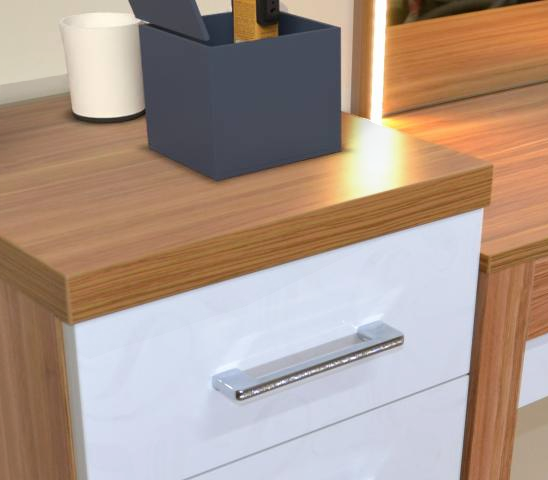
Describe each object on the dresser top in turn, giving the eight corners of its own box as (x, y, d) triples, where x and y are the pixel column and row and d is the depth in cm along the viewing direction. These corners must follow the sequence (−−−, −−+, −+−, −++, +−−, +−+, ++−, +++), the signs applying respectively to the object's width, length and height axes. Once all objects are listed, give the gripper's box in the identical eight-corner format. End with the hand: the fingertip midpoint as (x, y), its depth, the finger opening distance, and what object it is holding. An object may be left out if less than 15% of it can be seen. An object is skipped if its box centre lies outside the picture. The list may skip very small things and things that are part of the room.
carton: (216, 181, 109) (209, 48, 103) (148, 147, 118) (138, 24, 112) (341, 151, 117) (341, 27, 112) (268, 122, 126) (265, 6, 121)
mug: (92, 128, 123) (82, 32, 119) (55, 111, 130) (44, 18, 125) (180, 111, 130) (173, 19, 125) (141, 95, 136) (133, 6, 131)
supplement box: (259, 78, 113) (255, -27, 109) (234, 73, 115) (228, -30, 110) (282, 72, 115) (278, -31, 111) (256, 67, 117) (252, -35, 113)
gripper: (173, -172, 108) (185, 14, 116) (258, -164, 98) (265, 38, 106) (240, -174, 112) (247, 5, 120) (328, -167, 102) (329, 28, 110)
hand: (255, 20), depth 113 cm, fingers closed on supplement box, 3 cm apart
